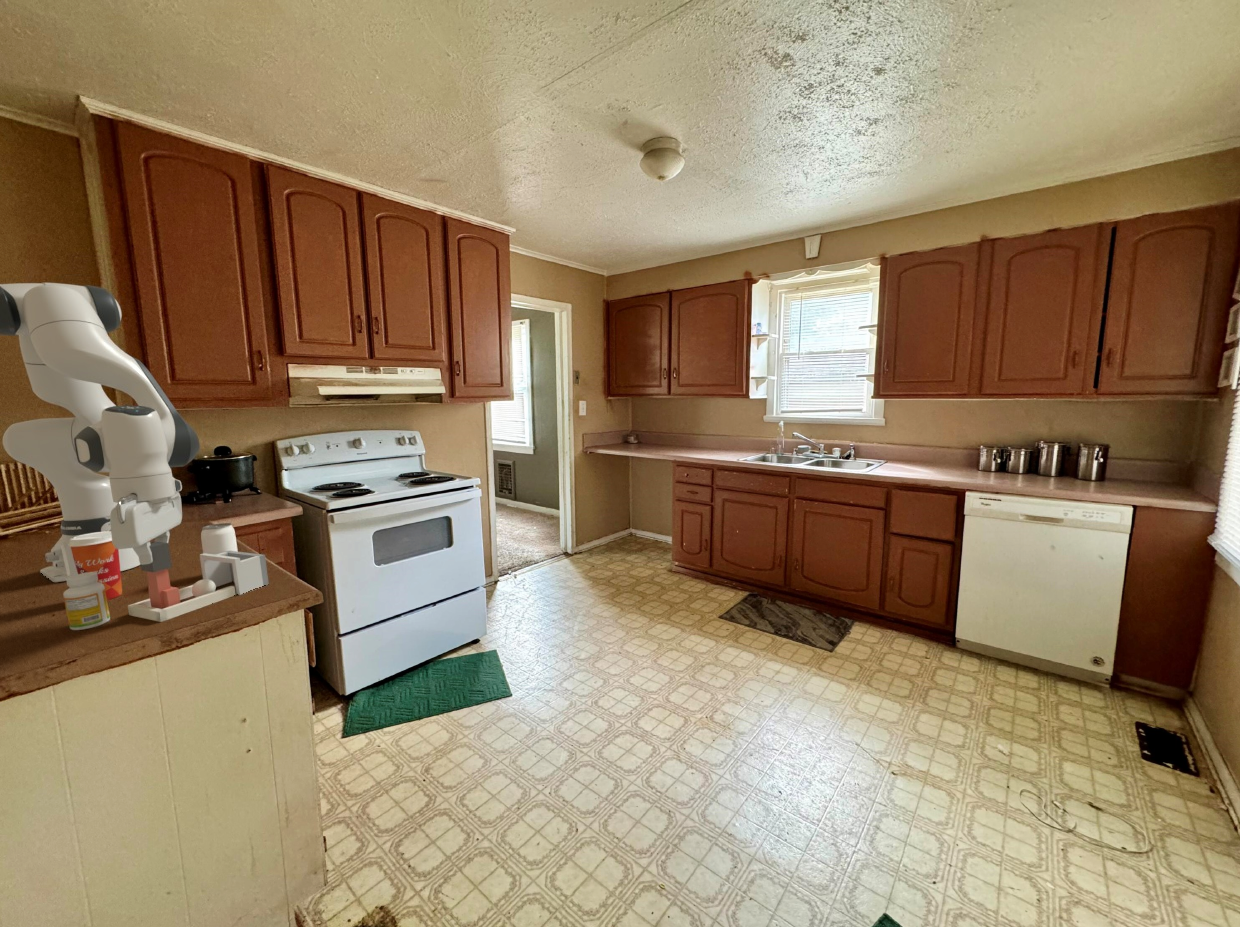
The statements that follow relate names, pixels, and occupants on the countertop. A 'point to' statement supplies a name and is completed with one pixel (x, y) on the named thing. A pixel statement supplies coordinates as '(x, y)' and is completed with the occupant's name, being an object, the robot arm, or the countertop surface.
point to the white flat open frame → (156, 614)
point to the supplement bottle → (85, 601)
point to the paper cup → (98, 560)
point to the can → (218, 538)
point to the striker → (160, 577)
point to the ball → (203, 587)
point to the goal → (235, 569)
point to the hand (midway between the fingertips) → (155, 558)
